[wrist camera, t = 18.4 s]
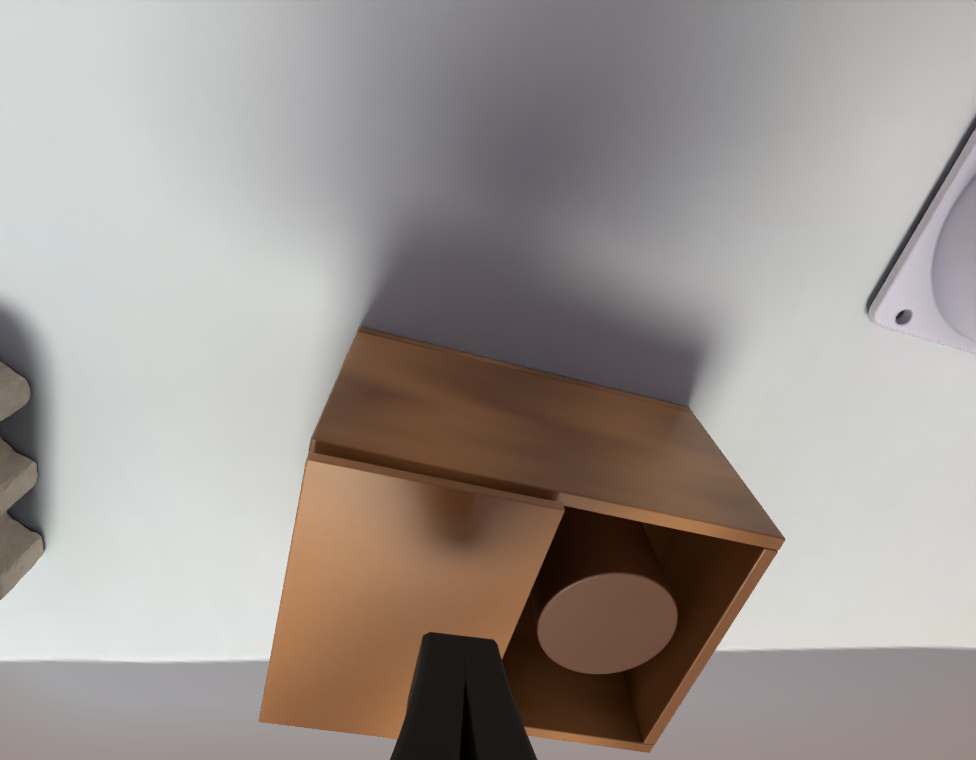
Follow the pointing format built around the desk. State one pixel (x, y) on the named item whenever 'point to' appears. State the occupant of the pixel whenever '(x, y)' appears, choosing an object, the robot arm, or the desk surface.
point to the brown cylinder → (602, 595)
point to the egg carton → (14, 490)
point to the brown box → (568, 505)
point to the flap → (392, 587)
